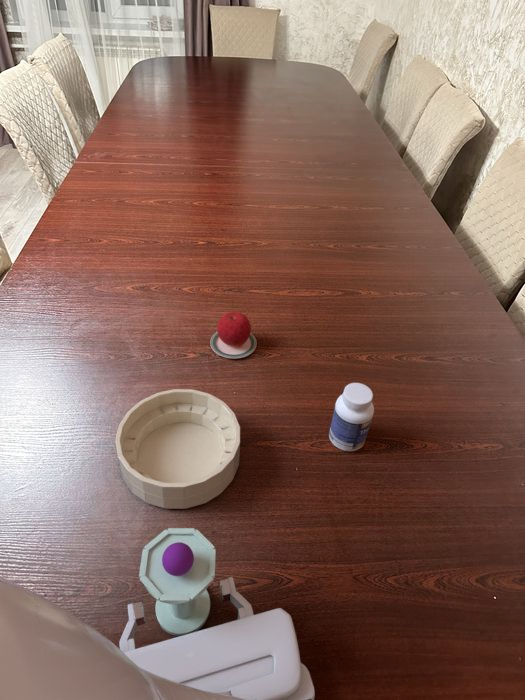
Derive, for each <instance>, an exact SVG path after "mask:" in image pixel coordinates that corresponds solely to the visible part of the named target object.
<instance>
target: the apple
mask: <svg viewBox="0 0 525 700" xmlns="http://www.w3.org/2000/svg"><path fill="white" fill-rule="evenodd" d="M216 330H217V331H216V332H215V333H213V335H212V336H211V338H210V341H209V342H210V347H211V349H212V351H213V353H215V354H216V355H218V356H220V357H222V358H225V359H233V360H234V359H235V360H236V359H242V358H246V357H248V356H249V355H251V354H253V353H254V352H255V350H256V348H257V339H256V337H255V336H254V334H253V333H252V326H251V322H250V320H249V318H248V317H247V316H246V315H245V314H243V313H241V312H236V311H232V312H231V311H230V312H227V313H225V314H223V315H222V316H221V317H220V319H219V321H218V323H217V328H216Z"/></svg>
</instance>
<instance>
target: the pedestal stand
mask: <svg viewBox="0 0 525 700" xmlns="http://www.w3.org/2000/svg"><path fill="white" fill-rule="evenodd" d="M177 542H181V543H185V544H187V545H188V546H189V547H190V548H191V550H192V552H193V555H194V562H193V565H192V567H191V569H190V570H189V571H188V572H187V573H186V574H184V575H181V576H173V575H170V574H169V573H167V572H166V571H165V569H164V567H163V564H162V556H163V553H164V551H165V550H166V548H167V547H168V546H169V545H171V544H173V543H177ZM216 555H217V549H216V546H215V545H213V543H212V542H210V540H209V539H208V538H206V536H205V535H204V534H203V533H201V532H200V531H199V530H198V529H197V528H195V527H176V528H175V527H168V528H167V529H166V528H165V529H164V530H162V532H160V533H159V534H158V535H157V536H156V537H154V538H152V540H151V541H149V542H148V543H147V544H146V545H145V546H143V549H142V552H141V558H140V566H139V572H138V578H139V581H140V582H141V583H142V585H143V586H144V588H145V589H146V591H147V592H148V593H149V595H150V596H152V598H154V599H155V601H156V602H155V609H154V610H155V616H156V620H157V623H158V624H159V626H160V627H161V629H162V630H163V631H164V632H165V633H167V634H169V635H171V636H175V637H179V636H183V635H186V634H190V633H193V632H197V631H200V629H202V627H203V626H204V625H205V624H206V623H207V620H208V618H209V616H210V612H211V599H210V598H211V597H210V594H209V591H208V588H209V586H210V585H211V583H212V582H213V581H214V580H215V579H214V578H216V559H217V556H216Z"/></svg>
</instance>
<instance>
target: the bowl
mask: <svg viewBox="0 0 525 700" xmlns="http://www.w3.org/2000/svg"><path fill="white" fill-rule="evenodd" d="M114 441H115V442H114V443H115V448H116V453H117V458H118V463H119V467H120V472H121V476H122V480H123V482H124V483H125V485H126V486H127V488H128V489H129V490H130V492H131V494H133V495H135V496H136V497H138V499H140V500H142V501H143V502H144V503H146V504H149V505H151V506H155V507H159V508H161V509H166V510H167V509H168V510H170V509H171V510H172V509H173V510H174V509H175V510H178V509H179V510H181V509H182V510H185V509H189V508H190V509H191V508H193V507H197V506H200V505H204V504H206V503H208V502H210V501H211V500H213V499H214V498H216V497H218V496H220V495H221V494H222V493H223V492H224V491H225V489H227V487H228V486H229V485H230V484H231V483H232V482H233V480H234V479H235V475H236V473H237V472H238V471H237V470H238V468H239V466H240V455H241V453H240V451H241V425H240V424H239V421H238V418H237V416H236V414H235V412H234V411H233V410H232V409H231V408H230V406H228V405H227V404H226V402H224V401H223V400H222V399H220V398H218V397H217V396H215V395H213V394H212V393H208V392H205V391H201V390H197V389H191V388H190V389H189V388H182V389H181V388H174V389H173V388H172V389H168V390H164V391H159V392H156V393H153V394H152V395H150V396H148V397H146V398H143V399H142V400H140V401H138V402H137V403H136V404H135V405H134V406H132V407H131V408H130V409H129V410H128V411H127V412H126V413H125V415H124V417H123V418H122V420H121V421H120V423H119V424H118V426H117V432H116V435H115V440H114Z"/></svg>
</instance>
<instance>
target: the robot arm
mask: <svg viewBox="0 0 525 700" xmlns="http://www.w3.org/2000/svg"><path fill="white" fill-rule="evenodd" d="M218 588H219V592H220V597H221V601H222V603H225V602H230V603H231V604H232V605H233V606H234V607H235V608H236V609H237V619H235V620H231V621H229V622H225V623H222V624H218V625H214V626H211V627H207V628H204V629H201V630H200V629H199V630H198V631H196V632H193V633H190V634H186V635H183V636H175V637H172V638H169V639H165V640H162V641H159V642H156V643H152V644H148V645H145V646H140V647H138V648H137V645H136V641H135V639H134V637H135V635H136V633H137V630H138V627H139V626H142V625H145V624H146V616H145V608H144V604H143V600H139V601H135V602H132V603H128V604H127V615H128V621H127V623H126V625H125V627H124V630H123V632H122V635H121V637H120V639H119V642H118V644H119V647H118V646H117V645H116V644H115V643H113V642H112V641H111V640H110V639H108V638H107V637H106V636H105V635H103V634H102V633H101V632H99V631H98V630H97V629H95V628H94V627H93V626H91V625H90V624H89V623H87V622H86V621H84V620H82V619H81V618H79V617H78V616H76V615H75V614H74V613H72V612H70V611H69V610H67V609H65V608H64V607H62V606H60V605H59V604H57V603H55V602H54V601H52V600H51V599H48V598H47V597H45V596H42V595H40V594H38V593H36V592H34V591H32V590H30V589H28V588H26V587H25V586H23V585H20V584H18V583H17V582H16V583H15V582H14V581H12V580H9V579H6V578H4V577H2V576H0V700H315V697H316V689H315V686H314V682H313V679H312V676H311V672H310V671H309V669H308V667H307V666H306V664H304V663H303V662H302V661H301V657H300V650H299V644H298V639H297V634H296V633H297V632H296V629H295V625H294V622H293V618H292V616H291V614H290V613H288V612H287V611H286V610H285V609H283V608H282V607H277V608H273V609H270V610H266V611H263V612H260V613H256V614H254V610H253V607H252V604H251V603H250V602H249V601H248V600H247V599H246V598H245V597H244V596H243V595H242V594H240V591H239V592H238V591H237V589H236V584H235V580H234V577H233V576H230V577H229V576H228V577H227V578H223V579H219V580H218Z"/></svg>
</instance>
